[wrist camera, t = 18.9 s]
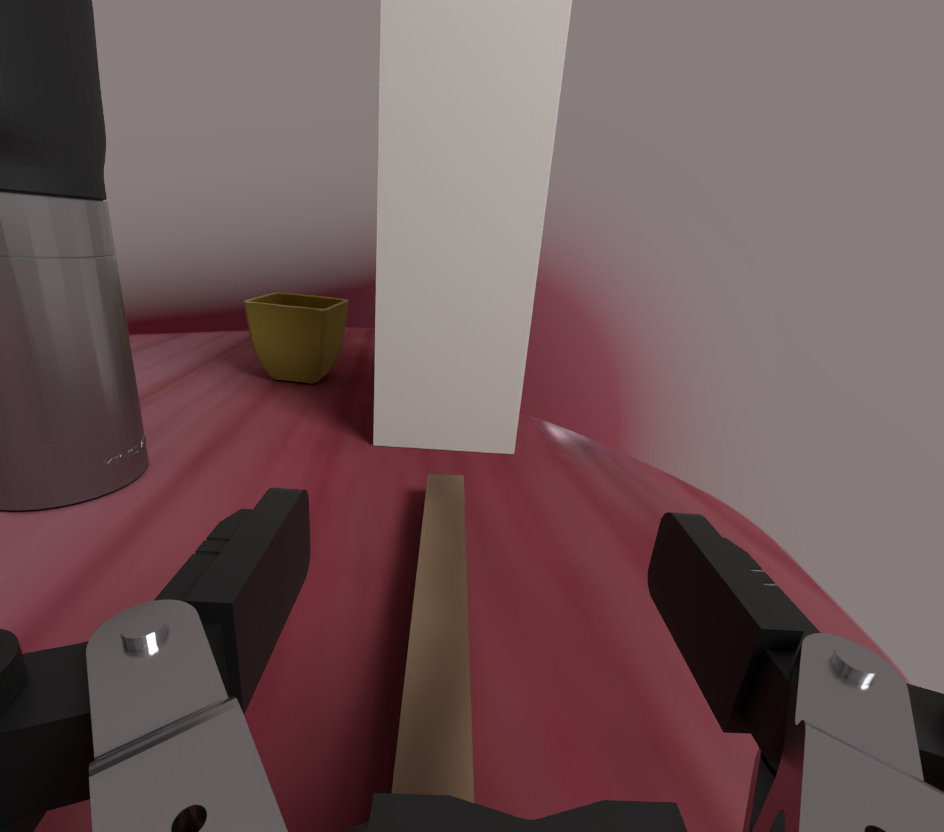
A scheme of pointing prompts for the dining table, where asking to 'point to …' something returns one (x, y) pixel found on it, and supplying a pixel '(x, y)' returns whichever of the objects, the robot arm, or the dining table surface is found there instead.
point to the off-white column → (461, 213)
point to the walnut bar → (438, 656)
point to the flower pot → (296, 334)
